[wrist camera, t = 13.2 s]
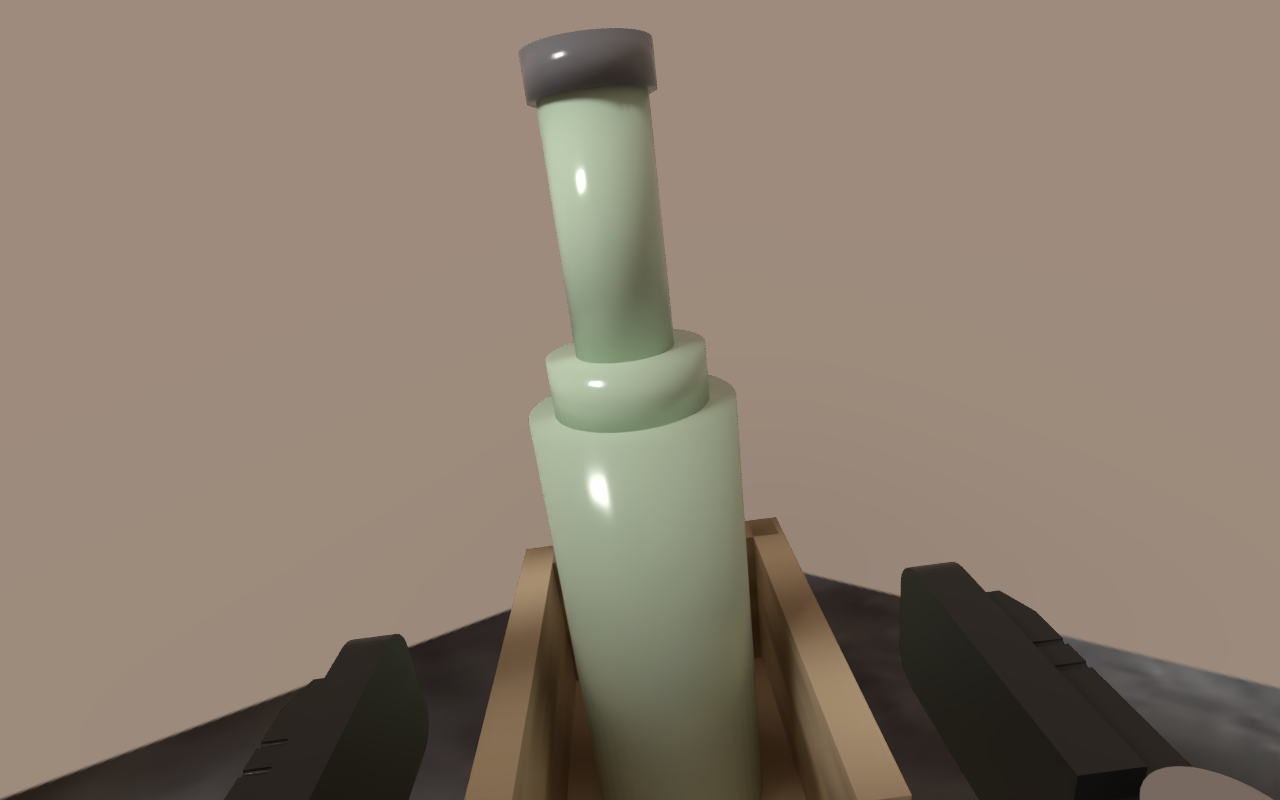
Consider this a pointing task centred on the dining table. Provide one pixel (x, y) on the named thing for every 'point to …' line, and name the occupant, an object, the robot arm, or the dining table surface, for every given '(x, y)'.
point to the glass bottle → (638, 452)
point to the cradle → (785, 689)
